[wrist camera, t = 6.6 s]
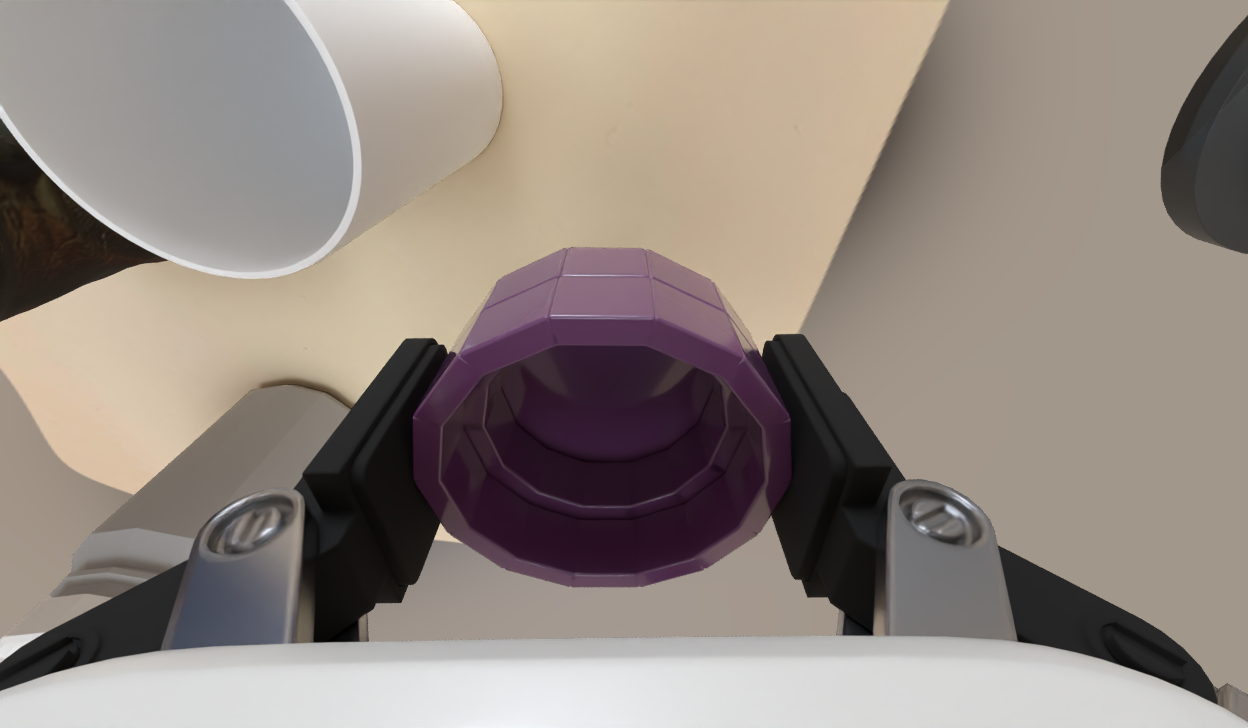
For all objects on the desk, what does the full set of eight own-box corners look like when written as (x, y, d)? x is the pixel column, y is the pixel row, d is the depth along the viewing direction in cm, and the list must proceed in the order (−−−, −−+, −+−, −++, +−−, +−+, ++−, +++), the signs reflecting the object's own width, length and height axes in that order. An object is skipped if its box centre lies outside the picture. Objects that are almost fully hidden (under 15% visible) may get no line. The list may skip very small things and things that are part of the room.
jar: (232, 438, 37) (-32, 695, 22) (259, 353, 33) (-45, 601, 18) (354, 486, 40) (196, 740, 25) (394, 414, 36) (232, 669, 21)
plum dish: (520, 176, 9) (471, 233, 6) (808, 319, 10) (880, 417, 7) (432, 421, 12) (373, 535, 9) (663, 500, 14) (675, 617, 11)
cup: (375, -65, 21) (-61, -290, 8) (532, 67, 24) (419, 73, 10) (316, 101, 24) (-52, 150, 11) (459, 199, 27) (303, 332, 14)
